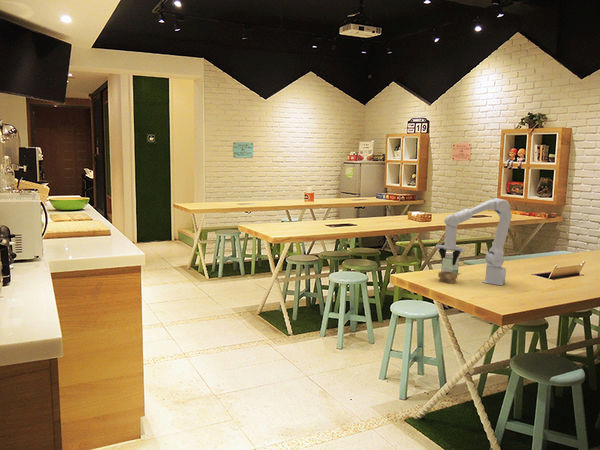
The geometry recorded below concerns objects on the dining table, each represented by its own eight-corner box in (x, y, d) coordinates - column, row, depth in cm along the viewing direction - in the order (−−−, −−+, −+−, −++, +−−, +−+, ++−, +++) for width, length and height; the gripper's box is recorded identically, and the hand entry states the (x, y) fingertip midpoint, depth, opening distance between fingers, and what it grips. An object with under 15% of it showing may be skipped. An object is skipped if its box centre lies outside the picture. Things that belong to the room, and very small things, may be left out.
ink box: (442, 273, 283) (443, 253, 281) (440, 271, 288) (442, 251, 286) (458, 274, 282) (459, 253, 280) (456, 272, 287) (457, 252, 286)
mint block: (454, 267, 266) (455, 258, 265) (451, 269, 262) (452, 259, 261) (445, 266, 269) (446, 256, 268) (442, 267, 265) (442, 258, 264)
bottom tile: (455, 281, 268) (456, 277, 268) (453, 284, 262) (453, 280, 261) (442, 280, 271) (442, 275, 271) (439, 282, 265) (439, 278, 265)
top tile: (457, 278, 266) (457, 273, 265) (449, 280, 261) (450, 275, 261) (445, 275, 271) (446, 270, 271) (438, 277, 266) (438, 272, 266)
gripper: (434, 237, 264) (432, 263, 266) (461, 240, 256) (459, 267, 258) (439, 235, 270) (437, 260, 272) (466, 239, 261) (464, 265, 263)
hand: (448, 263), depth 265 cm, fingers closed on mint block, 5 cm apart
